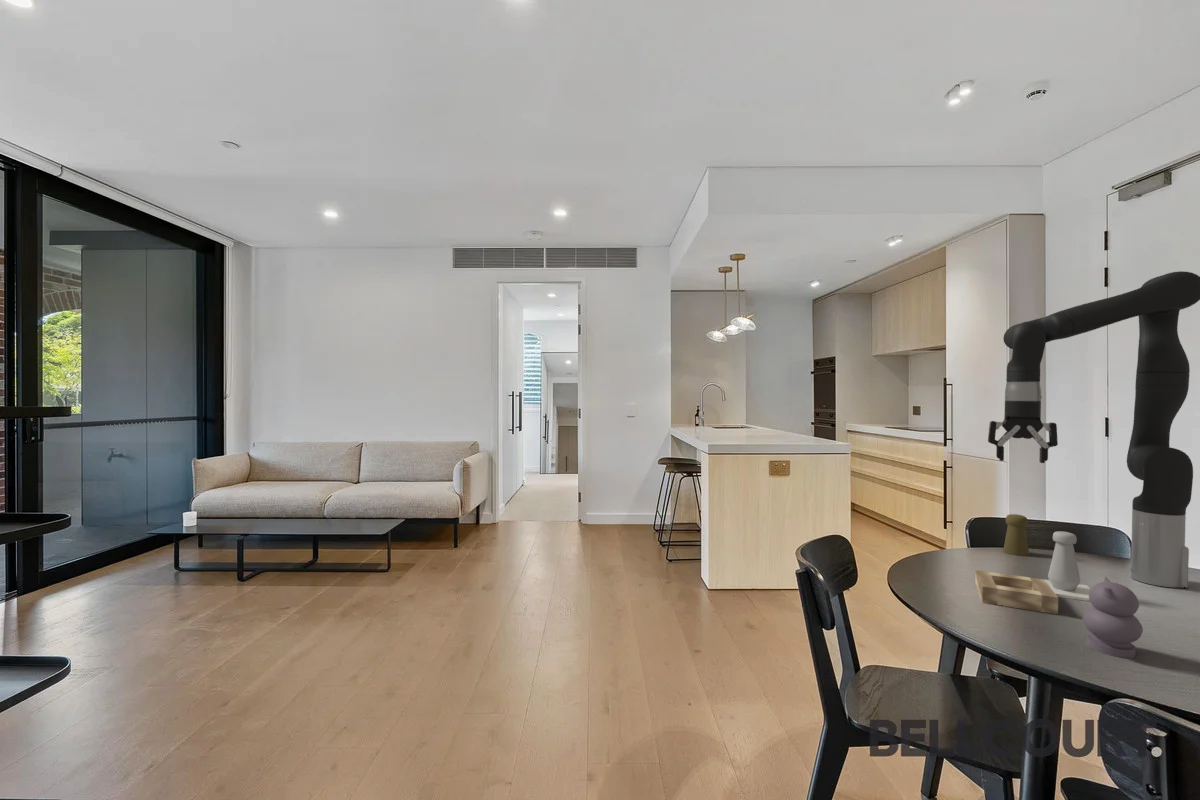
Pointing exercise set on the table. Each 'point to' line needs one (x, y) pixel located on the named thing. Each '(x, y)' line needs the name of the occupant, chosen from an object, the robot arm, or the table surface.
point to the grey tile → (1072, 592)
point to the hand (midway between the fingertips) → (1021, 461)
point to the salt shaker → (1064, 562)
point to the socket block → (1016, 591)
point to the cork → (1016, 535)
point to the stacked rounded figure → (1112, 619)
